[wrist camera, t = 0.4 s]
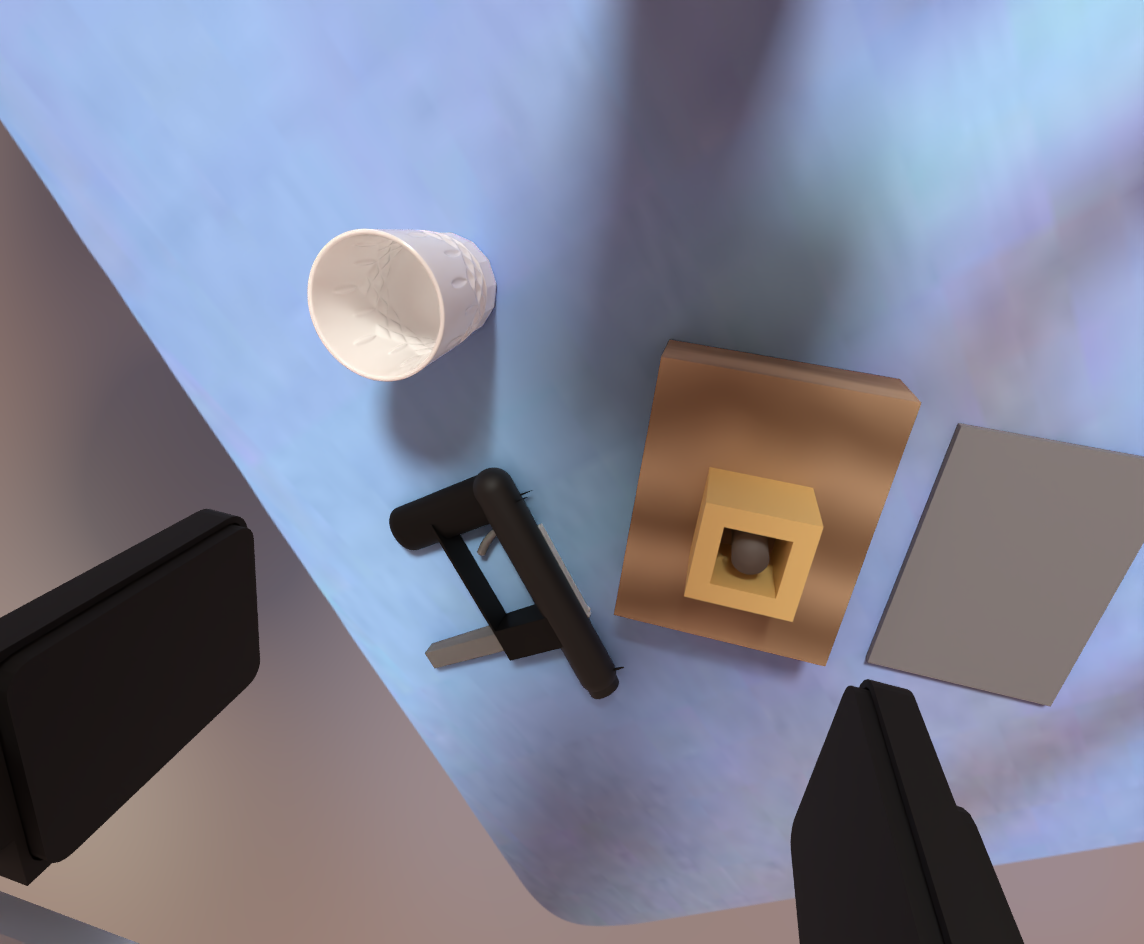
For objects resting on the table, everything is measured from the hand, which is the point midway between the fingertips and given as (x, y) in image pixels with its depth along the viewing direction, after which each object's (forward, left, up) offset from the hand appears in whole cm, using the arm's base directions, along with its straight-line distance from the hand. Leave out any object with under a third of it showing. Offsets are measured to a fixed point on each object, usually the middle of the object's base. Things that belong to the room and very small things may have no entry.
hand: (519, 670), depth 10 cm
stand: (+11, +6, -34) cm, 36 cm away
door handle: (+24, -11, -35) cm, 43 cm away
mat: (+13, +23, -34) cm, 43 cm away
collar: (+11, +6, -29) cm, 32 cm away
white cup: (+1, -16, -34) cm, 38 cm away
